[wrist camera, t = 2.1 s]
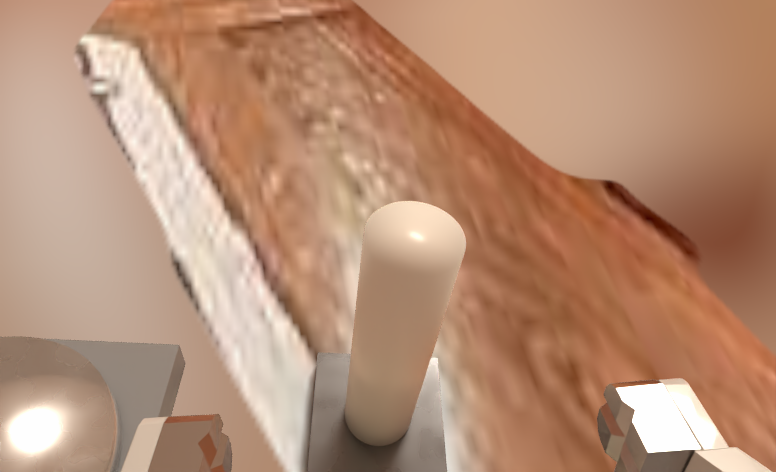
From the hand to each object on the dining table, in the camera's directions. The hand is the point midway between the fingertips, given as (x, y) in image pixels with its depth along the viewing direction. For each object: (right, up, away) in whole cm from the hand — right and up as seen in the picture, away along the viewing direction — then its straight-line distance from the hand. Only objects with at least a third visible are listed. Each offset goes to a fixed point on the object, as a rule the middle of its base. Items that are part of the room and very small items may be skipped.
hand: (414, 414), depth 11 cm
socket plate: (-1, -6, +18) cm, 19 cm away
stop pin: (-1, -6, +18) cm, 18 cm away
